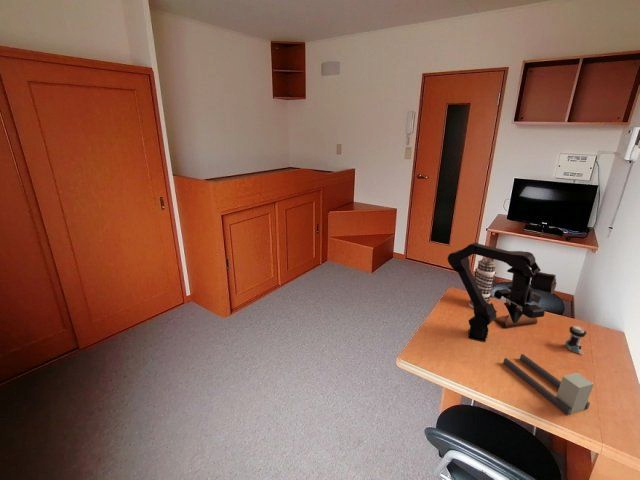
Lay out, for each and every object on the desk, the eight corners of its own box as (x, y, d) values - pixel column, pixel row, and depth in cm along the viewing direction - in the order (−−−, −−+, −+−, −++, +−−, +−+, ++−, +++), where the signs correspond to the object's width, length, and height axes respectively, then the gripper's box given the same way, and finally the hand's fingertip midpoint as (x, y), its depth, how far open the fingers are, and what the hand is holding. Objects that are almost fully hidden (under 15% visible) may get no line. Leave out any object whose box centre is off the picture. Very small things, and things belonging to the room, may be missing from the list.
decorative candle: (469, 300, 167) (478, 255, 159) (489, 305, 163) (499, 259, 155) (467, 307, 160) (476, 261, 152) (487, 313, 155) (498, 265, 147)
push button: (586, 354, 128) (594, 332, 124) (577, 356, 126) (584, 335, 123) (569, 344, 134) (576, 323, 130) (560, 346, 132) (567, 325, 129)
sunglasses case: (521, 314, 155) (530, 307, 150) (530, 327, 150) (540, 321, 145) (490, 318, 150) (498, 312, 145) (498, 333, 146) (507, 326, 141)
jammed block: (554, 401, 103) (562, 376, 100) (568, 397, 105) (576, 372, 101) (570, 414, 98) (579, 388, 95) (584, 409, 100) (593, 383, 97)
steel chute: (501, 366, 120) (503, 358, 119) (521, 361, 123) (524, 353, 121) (564, 418, 98) (568, 410, 97) (588, 411, 101) (591, 402, 100)
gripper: (561, 293, 113) (553, 332, 117) (519, 274, 130) (514, 309, 134) (533, 297, 111) (527, 336, 115) (495, 277, 128) (490, 312, 132)
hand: (514, 322), depth 124 cm, fingers closed
